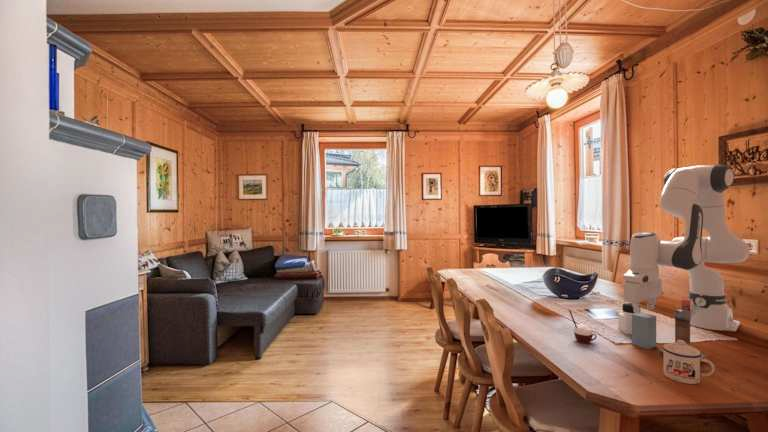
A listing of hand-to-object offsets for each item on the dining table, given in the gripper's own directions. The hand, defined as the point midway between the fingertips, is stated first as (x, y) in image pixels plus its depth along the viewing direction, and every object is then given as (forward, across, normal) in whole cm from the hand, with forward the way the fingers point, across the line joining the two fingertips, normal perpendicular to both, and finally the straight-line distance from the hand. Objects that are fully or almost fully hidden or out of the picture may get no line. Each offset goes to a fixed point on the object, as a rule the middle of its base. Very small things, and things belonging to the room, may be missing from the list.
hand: (643, 310), depth 131 cm
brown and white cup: (+14, +16, -14) cm, 25 cm away
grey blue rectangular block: (+13, 0, 0) cm, 13 cm away
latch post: (+13, 0, +12) cm, 18 cm away
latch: (0, -7, +11) cm, 13 cm away
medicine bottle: (+14, -11, -10) cm, 20 cm away
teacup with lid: (+14, +17, +20) cm, 29 cm away
